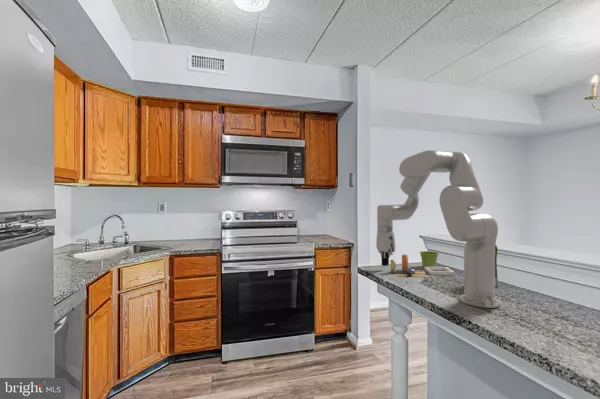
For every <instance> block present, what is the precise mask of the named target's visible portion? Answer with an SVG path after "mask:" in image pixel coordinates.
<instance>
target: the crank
mask: <svg viewBox="0 0 600 399" xmlns="http://www.w3.org/2000/svg"><path fill="white" fill-rule="evenodd" d="M396 266H397V265H396V259H391V260H390V274H391V273H392V274H396V273H407V272H412V274H415V270H416V269H415V268H410V267H408V268H407V269H405V270H402V269H397V267H396Z"/></svg>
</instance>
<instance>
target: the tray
mask: <svg viewBox="0 0 600 399" xmlns="http://www.w3.org/2000/svg"><path fill="white" fill-rule="evenodd" d="M423 269H424V271H425V272H427V274H429V275H431V276H452V277H453V278H455V277H456V273H455V271H454V270H452V269H450V267H447V266H436V267H423Z"/></svg>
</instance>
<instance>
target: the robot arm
mask: <svg viewBox="0 0 600 399" xmlns="http://www.w3.org/2000/svg"><path fill="white" fill-rule="evenodd" d="M398 171H399V173H400V175H401V177H404V178H403V180H402V182H401V184H400V189H401V191H402V192H403V193H405V195H406V196H407V199H406V201H405V202H404V204H380V205H378V206H377V208H376V210H377V211H376V212H377V213H376V214H377V216H376V217H377V219H376V220H377V221H376V223H377V224H376V226H377V227H376V228H377V231H376V233H377V234H376V242H375V245H376V250H377V252H378V253H379V254H380V258H381V266H383V267H385V266H386V267H387V266H389V265H390V264H389V263H390V260H389V259H390V257H391V256H393V254H394V252H395V251H396V241H395V240H396V239H395V233H394V232H393V231H394V230H393V228H394V226H393V224H394V223H393V222H394V221H404V220H405V221H406V220H408V219H410V218H411V217H413V215H414V213H415V212H416V211H417V209H418V206H419V202H420V200H419V199H420V198H419V192H420V191H421V190H422V188H423V186H424V185H425V183H426V181H427V180H428V178H429V176H430V175H431V174H432V173H449V175H448V176H449V178H448V179H449V184H450V185H447V186H445V187H444V188H443V189H442V190H441V192H440V194H439V206H440V210H441V213H442V216H443V218H444V222H445V225H446V229H447V231H448V233H449V235H450V236H451V238H452V239H453V240H455V241H458V242H464V243H465V244H464V245H465V246H464V251H463V286H464V288H463V291H464V292H463V294H460V295H459V300H460V302H462V303H463V304H465V305H469V306H473V307H477V308H483V309H484V308H485V309H486V308H487V309H495V308H499V307H501V305H502V304H501V300H499V299H497V298H496V287H495V245H496V246H497V238H498V232H499V225H498V223H497V221H496V220H495V218H494V217H493V216H491V215H489V214H486V213H479V212H478V213H477V212H476V213H470V212H473V211H474V212H475V211H478V210H479V209H481V208H482V207H483V204H484V197H483V194H482V191H481V189H480V186H479V183H478V180H477V178H476V176H475V173H474V169H473V165H472V163H471V160H470V158H469V157H468V155H467V154H466V153H464V152H461V151H445V150H424V151H421V152H419V153H416V154H413V155H410V156H407V157H406V158H404V159H403V160H402V161H401V162H400V164H399V170H398Z"/></svg>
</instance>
